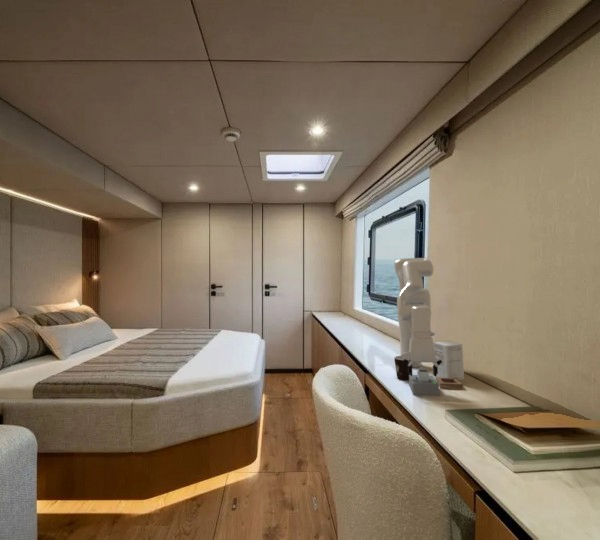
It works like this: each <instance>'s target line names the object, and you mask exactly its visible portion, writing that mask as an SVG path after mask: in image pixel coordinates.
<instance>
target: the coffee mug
mask: <svg viewBox="0 0 600 540" xmlns="http://www.w3.org/2000/svg"><path fill="white" fill-rule="evenodd" d="M405 358H406V360H407V361H409V360H410V358H409V356H406V357H405ZM394 365H395V372H396V373H395V374H396V380H398V379H399V381H409V375H410V373H408V365H407V364H406V363H405V362H404V361H403V359H402V357H401V355H396V356H394ZM411 366H412V365H411Z"/></svg>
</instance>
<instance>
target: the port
mask: <svg viewBox="0 0 600 540" xmlns="http://www.w3.org/2000/svg"><path fill="white" fill-rule="evenodd" d="M408 386H409V388H410V391H411V393H412V395H413V396H433V397H440V387H439V384H438V383H437V381H436V377H435V376H434V375H429V382H427V381H418V376H417V374H412V376H411V375H409V380H408Z"/></svg>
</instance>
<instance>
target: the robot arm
mask: <svg viewBox="0 0 600 540" xmlns="http://www.w3.org/2000/svg"><path fill="white" fill-rule="evenodd" d="M394 271H395V274H396V276H397V278H398V284H399V286H398V287H399V293H398V295H397V298H396V306H397V307H396V308H397V322H398V328H399V345H400V346H399V348H400V356H401V357H402V359H403V361H404V362H405V363H406V364H407V365H408V373H410V375H411V376H412V375H413V368H421V367H422V365H423V363H432V364H433V365H432V376H433V377H434V378H436V374H438V366H439V365H440V364H441V363H442V361H443V359H444V356H443V355H441V354H439V353H437V352H435V349H434V340H433V337H432V336H435V332H433V331H431V320H432V310H431V309H432V308H431V307H432V306H431V294H430V291H429V290H428V289H427V288H424V283H423V278H424V277H426V278H427V277H432V276H433V274H434V266H433V263H432V261H431V259H429V258H427V257H415V258H413V257H409V258H407V257H406V258H405V257H404V258H399V259H397V260H395V261H394ZM422 277H423V278H422ZM435 355H436V356H438V357H439V360H438V361H437V362H435ZM406 356H409V358H410V360H409V361H407V360H406V358H405V357H406ZM411 365H412V366H411Z"/></svg>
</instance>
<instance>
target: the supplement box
mask: <svg viewBox="0 0 600 540" xmlns="http://www.w3.org/2000/svg"><path fill="white" fill-rule="evenodd" d="M433 343H434V349H435V352H437V353H439V354H441V355H443V356H444V359H443V361H442V363H441V364H440V365H439V366H438V374H436V377H441V378H457V379H458V380H459V381H461V380H462V381H463V380H464V379H465V371H464V351H463V343H460V342H455V341H451V340H444V341H443V340H442V341H437V342H436V341H433ZM438 360H439V357H438V356H436V355H435V362H437V361H438ZM436 377H435V378H436Z"/></svg>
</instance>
